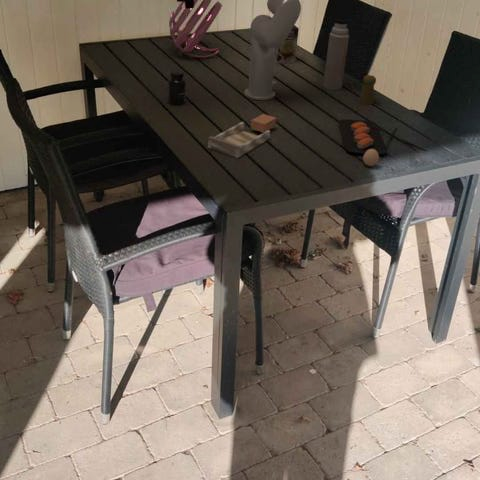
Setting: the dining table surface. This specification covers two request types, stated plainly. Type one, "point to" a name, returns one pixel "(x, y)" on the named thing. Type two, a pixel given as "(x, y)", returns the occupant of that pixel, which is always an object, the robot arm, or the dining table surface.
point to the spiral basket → (189, 26)
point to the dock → (236, 141)
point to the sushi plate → (364, 136)
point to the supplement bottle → (176, 88)
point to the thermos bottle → (336, 55)
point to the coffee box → (287, 48)
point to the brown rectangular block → (263, 123)
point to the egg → (371, 157)
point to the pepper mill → (367, 90)
